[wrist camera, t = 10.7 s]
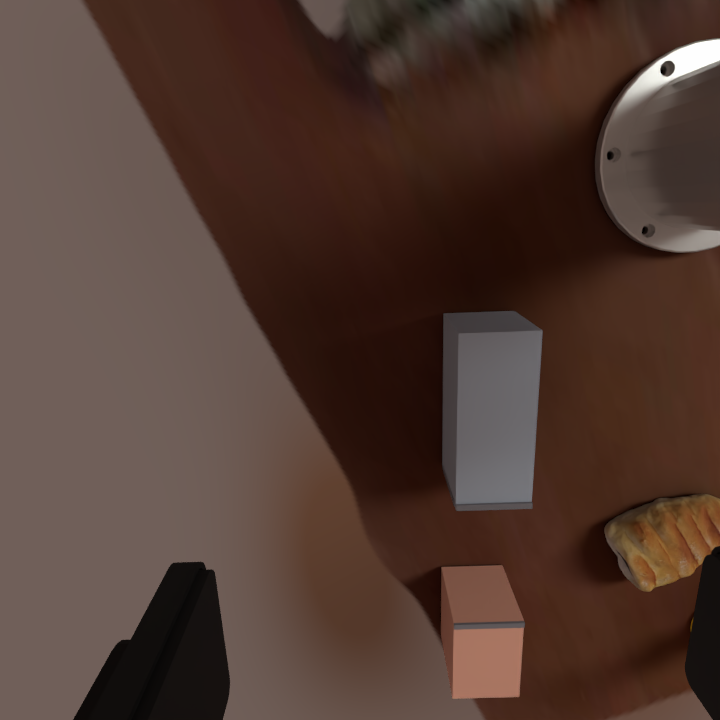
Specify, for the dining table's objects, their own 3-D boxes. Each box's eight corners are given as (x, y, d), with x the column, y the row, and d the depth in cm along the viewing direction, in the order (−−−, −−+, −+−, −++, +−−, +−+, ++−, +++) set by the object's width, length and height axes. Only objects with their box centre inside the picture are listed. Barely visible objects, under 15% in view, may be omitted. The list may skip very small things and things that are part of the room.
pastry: (702, 466, 41) (736, 493, 37) (732, 529, 42) (768, 560, 39) (592, 522, 42) (614, 552, 39) (626, 581, 44) (650, 615, 40)
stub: (441, 567, 43) (454, 625, 37) (502, 565, 43) (524, 623, 37) (440, 635, 45) (452, 701, 39) (498, 633, 45) (519, 699, 39)
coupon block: (442, 313, 37) (458, 334, 31) (514, 310, 37) (543, 331, 31) (441, 465, 40) (455, 511, 34) (507, 463, 40) (532, 508, 34)
